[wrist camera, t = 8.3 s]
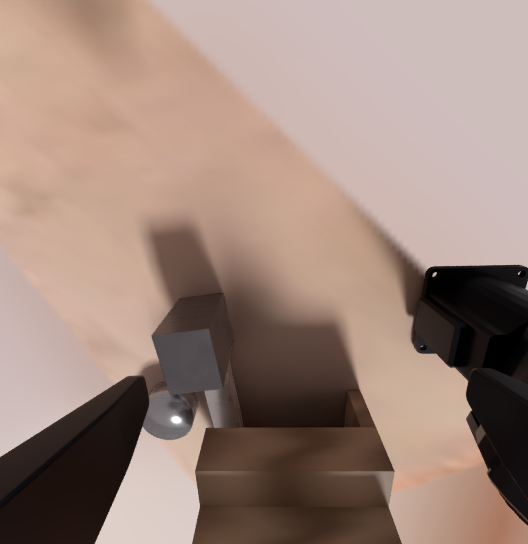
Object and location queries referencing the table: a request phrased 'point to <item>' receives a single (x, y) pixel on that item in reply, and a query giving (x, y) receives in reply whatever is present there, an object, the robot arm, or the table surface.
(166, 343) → the grey mallet
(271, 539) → the plinth cabinet
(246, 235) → the table surface
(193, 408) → the steel token
